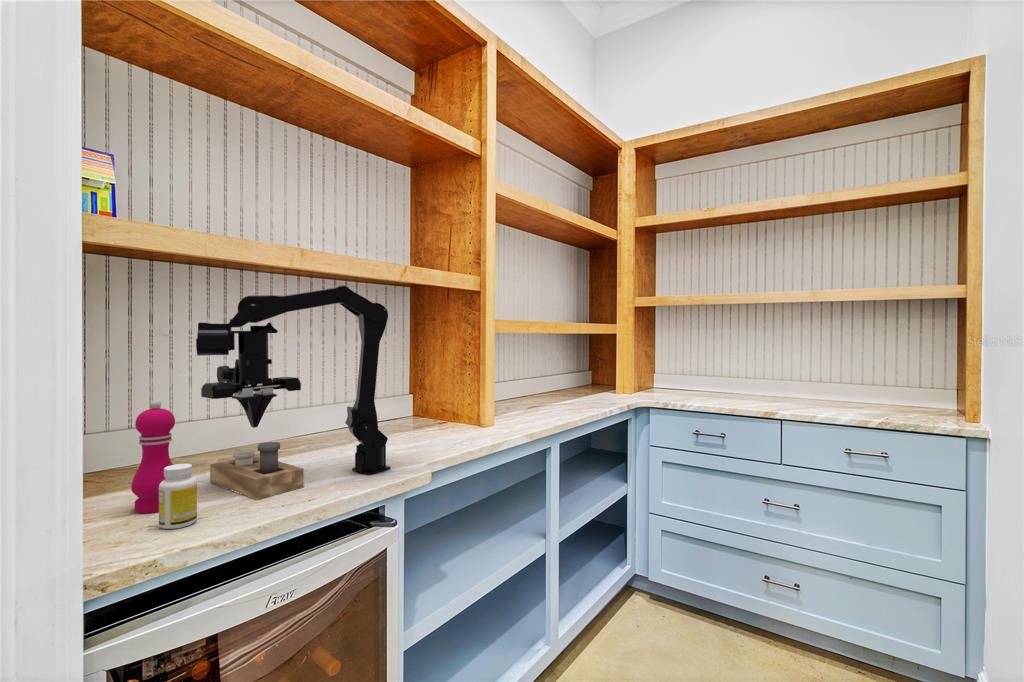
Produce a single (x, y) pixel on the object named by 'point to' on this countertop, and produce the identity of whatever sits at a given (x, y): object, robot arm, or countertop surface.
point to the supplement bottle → (177, 497)
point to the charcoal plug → (268, 457)
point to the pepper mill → (152, 455)
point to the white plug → (243, 457)
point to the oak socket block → (256, 478)
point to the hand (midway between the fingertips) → (254, 427)
